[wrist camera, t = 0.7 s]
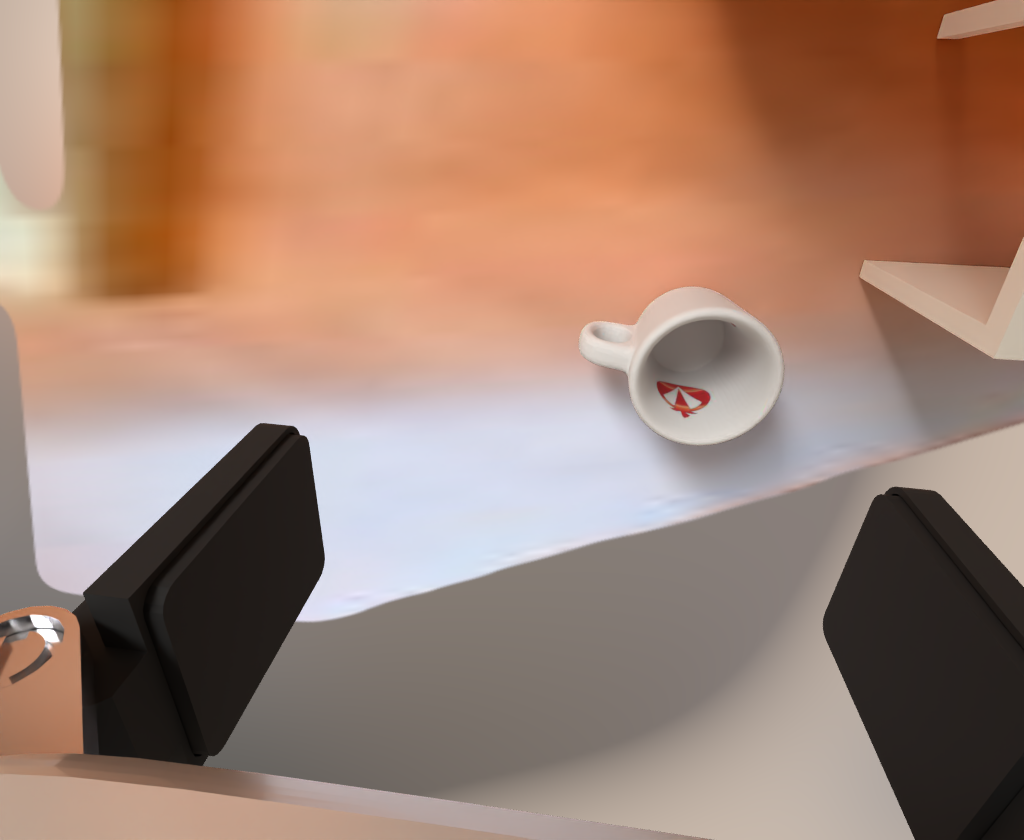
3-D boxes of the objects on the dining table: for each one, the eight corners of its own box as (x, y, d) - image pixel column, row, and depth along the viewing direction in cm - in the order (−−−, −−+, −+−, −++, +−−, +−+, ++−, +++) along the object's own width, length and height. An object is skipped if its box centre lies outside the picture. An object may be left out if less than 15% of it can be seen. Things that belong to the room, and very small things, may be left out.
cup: (568, 369, 40) (564, 424, 33) (592, 253, 36) (593, 286, 29) (726, 397, 39) (755, 459, 32) (766, 282, 36) (810, 324, 29)
